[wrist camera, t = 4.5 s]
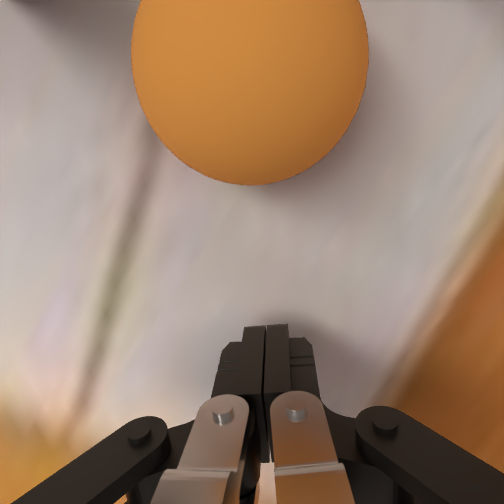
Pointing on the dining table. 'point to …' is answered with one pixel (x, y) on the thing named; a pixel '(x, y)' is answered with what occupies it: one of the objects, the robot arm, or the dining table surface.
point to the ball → (249, 81)
